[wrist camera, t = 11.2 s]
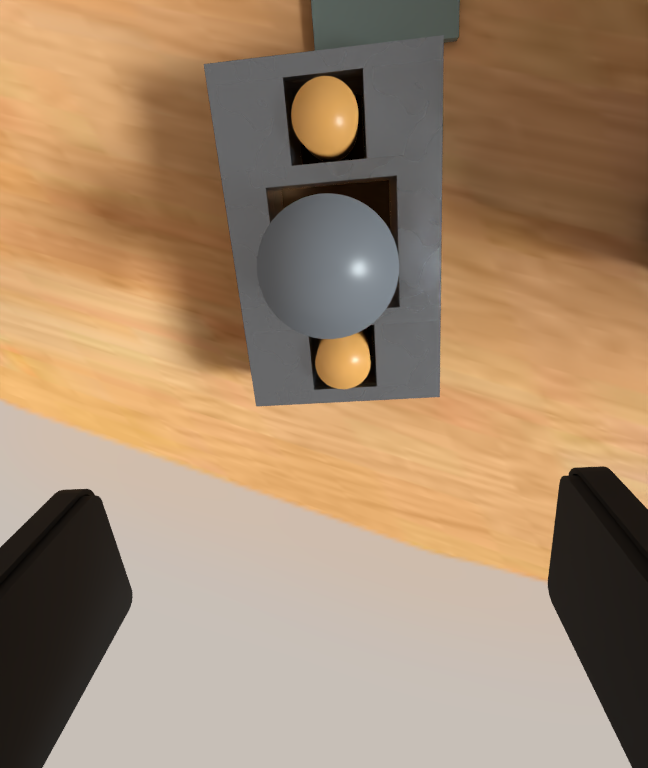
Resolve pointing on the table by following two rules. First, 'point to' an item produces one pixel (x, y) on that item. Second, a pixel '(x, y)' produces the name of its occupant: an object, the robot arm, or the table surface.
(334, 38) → the mat
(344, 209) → the ball
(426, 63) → the housing
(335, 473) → the table surface
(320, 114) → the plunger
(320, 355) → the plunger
